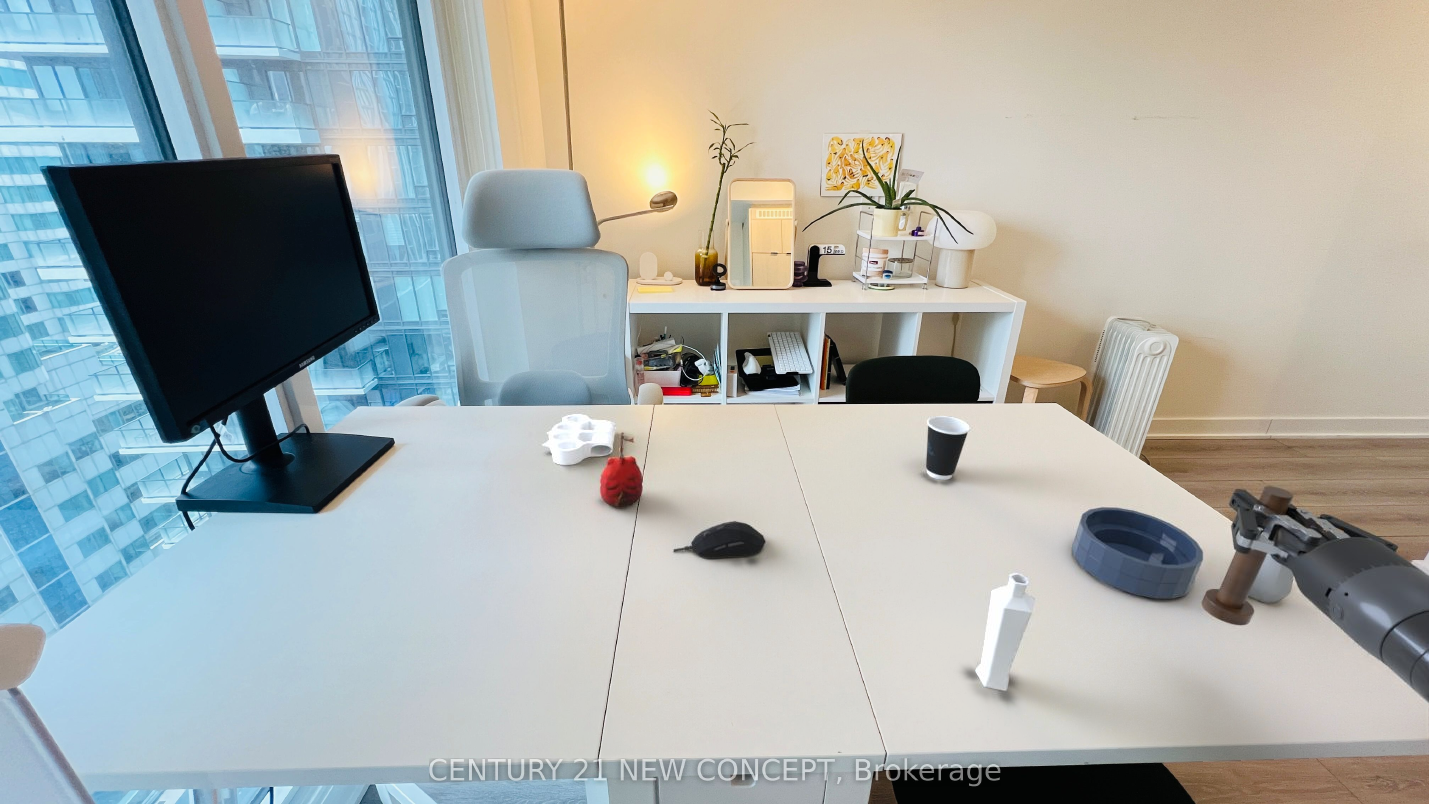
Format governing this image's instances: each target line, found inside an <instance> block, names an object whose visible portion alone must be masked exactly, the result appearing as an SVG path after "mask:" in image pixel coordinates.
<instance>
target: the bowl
mask: <svg viewBox="0 0 1429 804" xmlns="http://www.w3.org/2000/svg"><path fill="white" fill-rule="evenodd" d="M1071 551H1072V554H1073V557H1074V559H1075V560H1076V561H1077V562H1078V563H1079V564H1080V566H1081V567H1082V568H1083V569H1084V570H1085V571H1087V572H1088V573H1089V574H1091V575H1092V576H1094V577H1095V578H1096V579H1098V580H1100V581H1102V582H1104V583H1106V584H1108V585H1110V586H1111V587H1113V588H1116V589H1119V590H1120V591H1121V590H1122V591H1124V592H1126V593H1130V594H1133V595H1137V596H1141V597H1147V598H1150V599H1169V600H1170V599H1176V598H1180V597H1183V596H1185V595H1186V594H1187V593H1189V592H1190V590H1191V589H1192V588H1193V585H1194V583H1195V580H1196V578H1197V575H1198V573H1199V571H1200V568H1201V566H1202V563H1203V561H1204V551H1203V549H1202V548H1201V545H1200V544H1199V543H1198V542H1197V541H1196V540H1195V539H1194V538H1193V537H1191V536H1190V535H1189V534H1188V533H1187V532H1186V531H1184V530H1182V529H1181V528H1179V527H1177V526H1175V524H1172V523H1170V522H1168V521H1165V520H1163V519H1161V518H1159V517H1156V516H1153V515H1150V514H1147V513H1144V512H1140V511H1137V510H1134V509H1127V508H1122V507H1110V506H1109V507H1108V506H1101V507H1100V506H1099V507H1095V508H1090V509H1088V510H1086V511H1084V512H1083V513H1082V514H1081V517H1080V520H1079V522H1078V526H1077V530H1076V532H1075V536H1074V540H1073V543H1072V545H1071Z"/></svg>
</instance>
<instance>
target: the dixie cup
mask: <svg viewBox="0 0 1429 804" xmlns="http://www.w3.org/2000/svg"><path fill="white" fill-rule="evenodd" d="M926 424H927V441H926V460H925V468H926V474H927V475H928V476H929V477H931V478H933V479H936V480H942V481H945V480H946V481H947V480H950V479H951V478H952V477H953V475H954V474H955V472H956V469H957V466H958V463H959V460H960V457H961V455H962V451H963V449H964V445H965V442H966V439H967V436H968V433H969V432H970V431H971V425H970V424H969V423H967V422H966V421H965V420H962V419H960V418H957V417H952V416H947V415H936V416H931V417H929V418H928V419H927V420H926Z"/></svg>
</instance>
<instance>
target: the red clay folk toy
mask: <svg viewBox="0 0 1429 804" xmlns="http://www.w3.org/2000/svg"><path fill="white" fill-rule="evenodd" d="M616 434H617V436H618V437H619V444H620V447H619V448H618V452H619V456H614V457H613V456H612V457H609V458H608V459H607V461H606V465H605V467H604V469H603V470H602V471H601V475H600V480H599V483H600V486H599V493H600V496H601V499H602V500H603V502H605V503H606V504H607V505H609V506H611V507H613V508H618V509H624V508H628V507H630V506H633V505H635V504H636V503H637V502H638V501H639V500H640V499H641V498H642V494H643V490H644V489H643V488H644V486H643V473H642V471H641V469H640V467H639V465H638V464H637V459H636V457H634V456H633V455H630V456H624V454H623V453H624V442H630V443H635V440H634V439H635V438H634V437H631V438H625V436H624V432H623V431H622V432H620V434H619V433H618V432H617V433H616Z"/></svg>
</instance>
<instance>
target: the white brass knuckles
mask: <svg viewBox="0 0 1429 804" xmlns="http://www.w3.org/2000/svg"><path fill="white" fill-rule="evenodd" d="M561 420H562V421H560V422H559V423H557V424H555V425H554V426H553V427H552V428H551V430H550V431H547V434H548V439H549V440H547V442H545V443H543V444H542V446H543V447H546V448H549V449H550V453H551V454H552V461H553V463H555V464H557V465H559V466H573V465H576V464H577V465H578V464H579V463H581V462H582V461H583V460H584V459H587V458H596V457H597V458H598V457H604V456H607V455H610V454H611V453H613V446H614V441H615V436H616V430H617V424H616V423H615V422H613V421H610V420H604V419H591V418H590V417H589V416H587V415H585V414H581V413H579V414H578V413H575V414H569V415H566V416H563V417H562V419H561Z"/></svg>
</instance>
